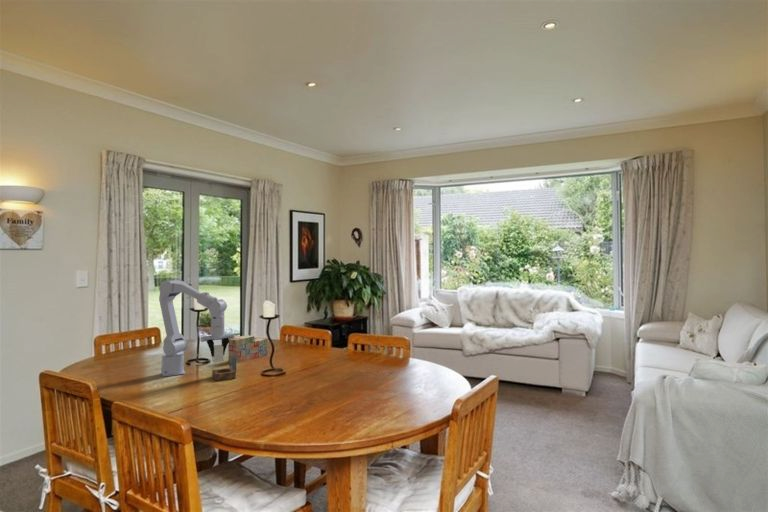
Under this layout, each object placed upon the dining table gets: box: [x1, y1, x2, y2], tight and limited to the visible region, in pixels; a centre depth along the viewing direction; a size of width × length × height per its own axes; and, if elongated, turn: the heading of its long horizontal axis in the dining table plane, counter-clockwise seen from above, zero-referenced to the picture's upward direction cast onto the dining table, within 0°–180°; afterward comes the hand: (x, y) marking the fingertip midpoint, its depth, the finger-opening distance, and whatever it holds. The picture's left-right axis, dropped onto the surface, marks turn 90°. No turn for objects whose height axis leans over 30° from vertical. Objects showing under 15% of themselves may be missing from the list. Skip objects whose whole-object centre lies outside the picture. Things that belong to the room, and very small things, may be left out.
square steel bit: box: [211, 344, 224, 363], centre depth 199 cm, size 4×4×7 cm
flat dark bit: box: [228, 355, 237, 373], centre depth 208 cm, size 2×6×7 cm, turn 32°
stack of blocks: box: [227, 334, 268, 364], centre depth 234 cm, size 21×6×12 cm, turn 148°
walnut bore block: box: [211, 367, 237, 382], centre depth 197 cm, size 8×8×3 cm
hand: (217, 355), depth 199 cm, fingers closed on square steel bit, 4 cm apart
